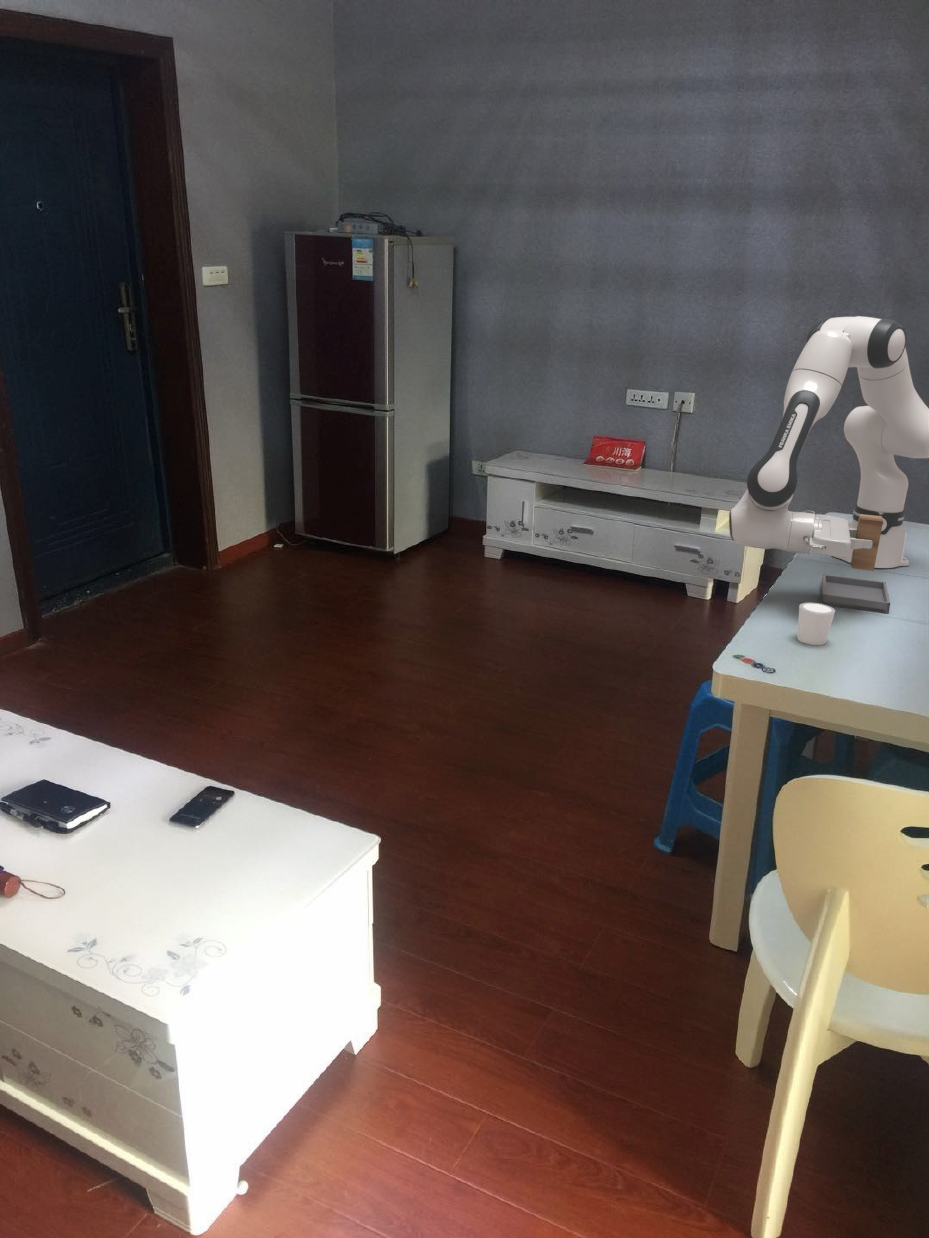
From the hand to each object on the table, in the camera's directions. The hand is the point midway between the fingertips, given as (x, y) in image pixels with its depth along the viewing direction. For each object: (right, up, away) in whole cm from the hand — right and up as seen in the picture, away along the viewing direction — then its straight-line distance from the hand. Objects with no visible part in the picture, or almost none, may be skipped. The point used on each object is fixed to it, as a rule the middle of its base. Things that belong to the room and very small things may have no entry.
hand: (871, 540), depth 207 cm
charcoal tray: (+2, -12, +15) cm, 19 cm away
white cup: (-17, -21, -11) cm, 29 cm away
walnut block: (-1, -5, +2) cm, 6 cm away
